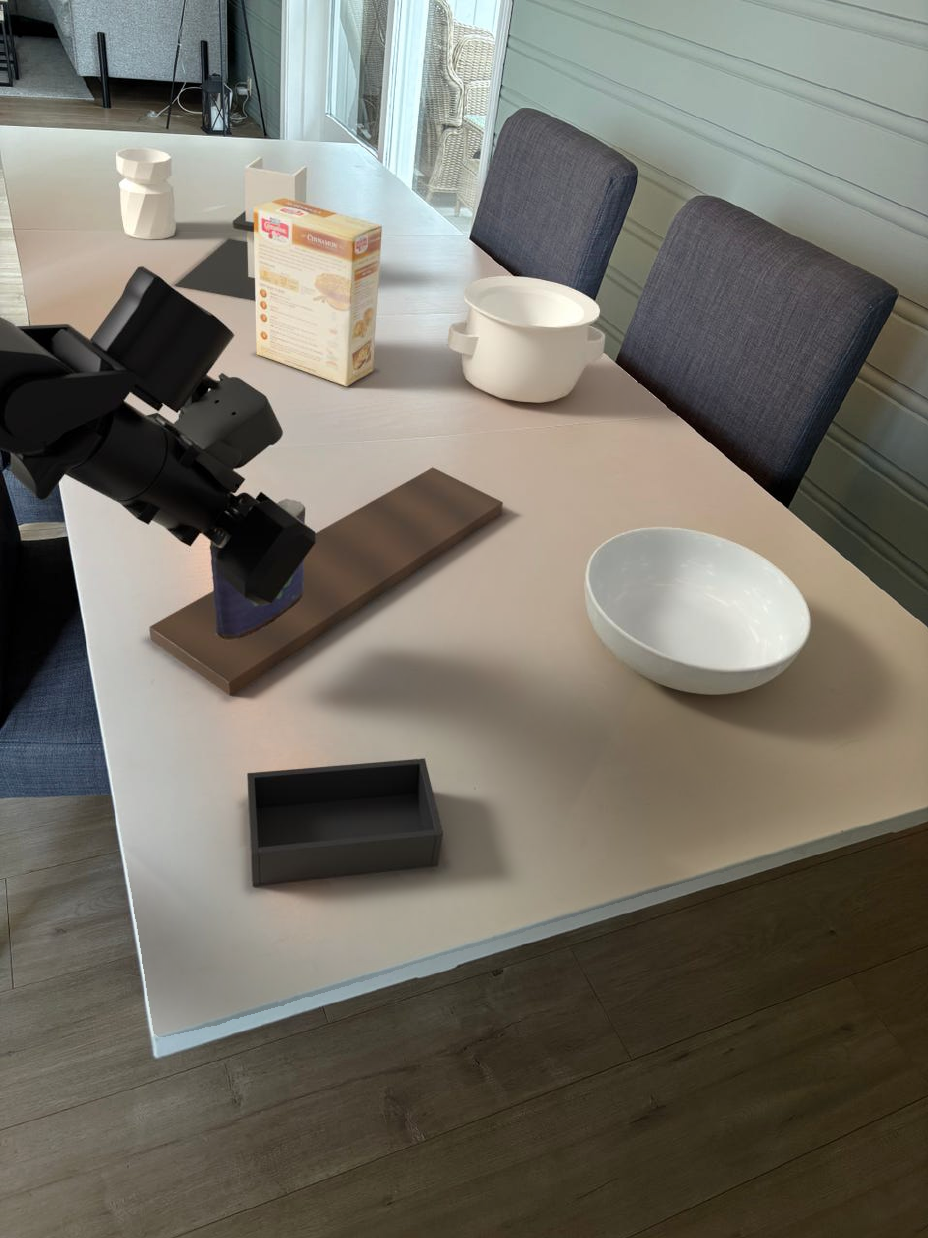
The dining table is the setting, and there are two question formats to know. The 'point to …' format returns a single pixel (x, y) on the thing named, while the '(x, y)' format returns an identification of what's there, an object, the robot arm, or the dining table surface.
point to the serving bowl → (694, 610)
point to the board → (335, 576)
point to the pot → (526, 337)
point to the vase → (146, 193)
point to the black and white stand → (236, 259)
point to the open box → (342, 821)
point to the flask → (243, 614)
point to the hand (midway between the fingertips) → (274, 544)
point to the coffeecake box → (316, 289)
